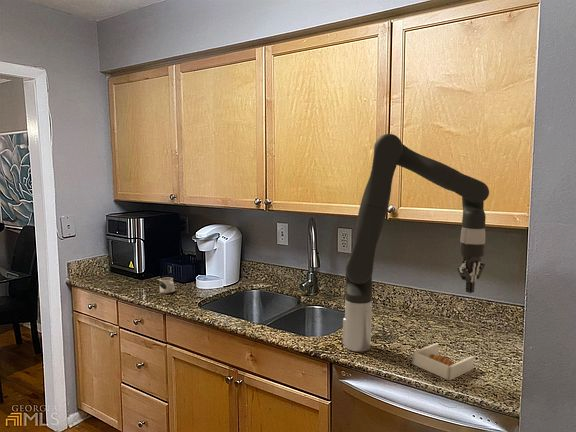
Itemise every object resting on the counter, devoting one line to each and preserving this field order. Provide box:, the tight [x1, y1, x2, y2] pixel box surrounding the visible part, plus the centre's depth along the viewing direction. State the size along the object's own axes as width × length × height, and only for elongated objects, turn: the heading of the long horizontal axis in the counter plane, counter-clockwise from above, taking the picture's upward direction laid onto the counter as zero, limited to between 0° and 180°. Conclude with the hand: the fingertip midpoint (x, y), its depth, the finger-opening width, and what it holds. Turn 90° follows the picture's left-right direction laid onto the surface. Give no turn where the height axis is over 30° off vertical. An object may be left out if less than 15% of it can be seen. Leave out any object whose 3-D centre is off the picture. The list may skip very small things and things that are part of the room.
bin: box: [411, 342, 475, 381], centre depth 139 cm, size 14×13×4 cm
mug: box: [158, 276, 176, 294], centre depth 221 cm, size 10×7×7 cm
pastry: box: [429, 354, 456, 366], centre depth 137 cm, size 9×7×4 cm
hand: (469, 292), depth 145 cm, fingers closed
